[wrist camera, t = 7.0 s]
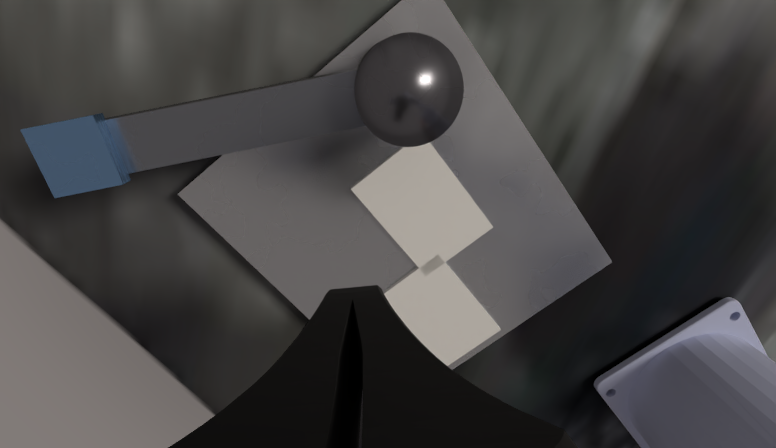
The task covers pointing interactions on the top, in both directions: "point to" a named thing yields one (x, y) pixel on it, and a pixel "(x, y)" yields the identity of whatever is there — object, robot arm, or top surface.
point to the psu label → (422, 204)
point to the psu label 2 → (441, 311)
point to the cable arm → (261, 117)
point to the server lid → (364, 232)
